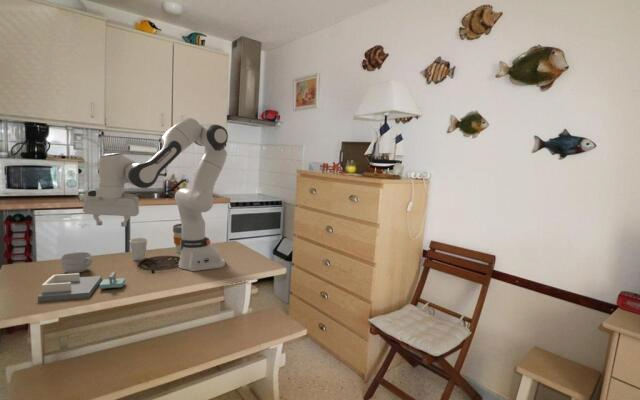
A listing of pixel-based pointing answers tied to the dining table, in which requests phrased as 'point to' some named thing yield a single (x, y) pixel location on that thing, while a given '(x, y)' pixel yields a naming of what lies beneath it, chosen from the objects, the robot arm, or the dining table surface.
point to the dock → (68, 287)
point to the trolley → (112, 282)
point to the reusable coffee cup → (177, 237)
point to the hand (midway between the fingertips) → (111, 225)
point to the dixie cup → (138, 248)
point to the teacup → (76, 262)
